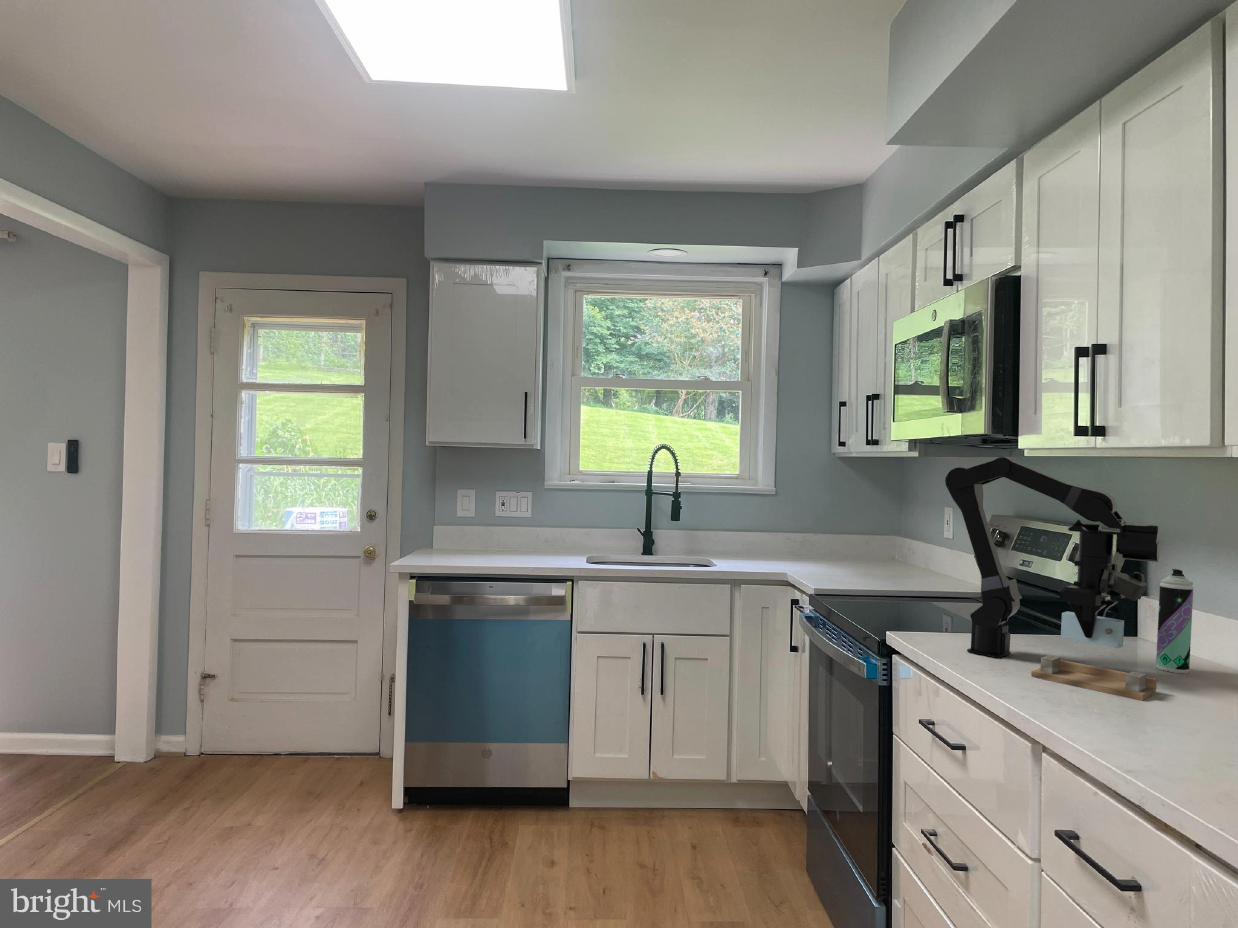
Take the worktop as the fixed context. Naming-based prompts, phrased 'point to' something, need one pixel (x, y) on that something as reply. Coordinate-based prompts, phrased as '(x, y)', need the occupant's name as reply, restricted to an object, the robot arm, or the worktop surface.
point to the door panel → (1104, 631)
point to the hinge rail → (1096, 678)
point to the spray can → (1174, 623)
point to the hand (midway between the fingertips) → (1091, 636)
